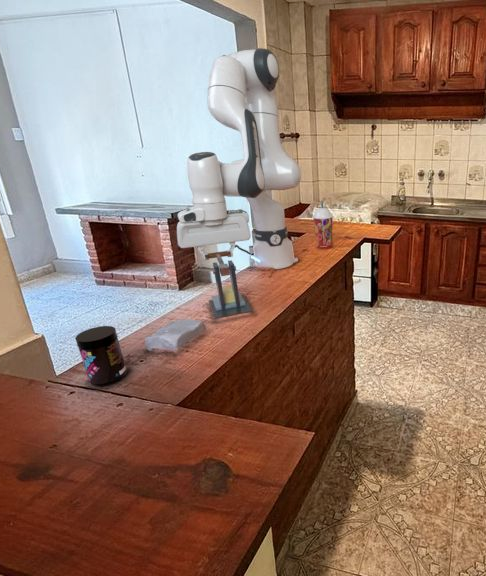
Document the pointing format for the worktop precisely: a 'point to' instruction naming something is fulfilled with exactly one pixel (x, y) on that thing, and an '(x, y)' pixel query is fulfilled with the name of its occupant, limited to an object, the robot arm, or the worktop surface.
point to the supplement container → (101, 355)
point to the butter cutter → (224, 311)
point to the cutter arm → (221, 262)
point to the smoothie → (323, 227)
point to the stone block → (174, 334)
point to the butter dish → (229, 305)
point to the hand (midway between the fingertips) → (218, 258)
